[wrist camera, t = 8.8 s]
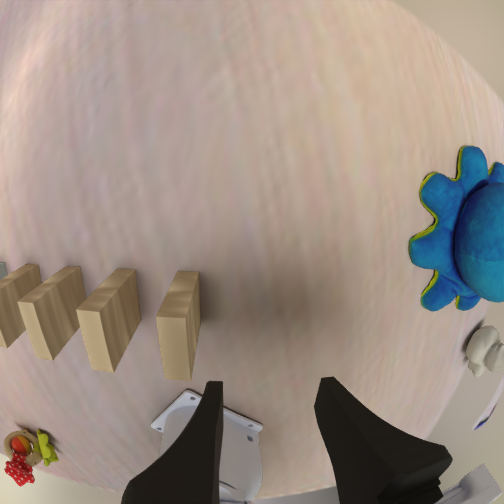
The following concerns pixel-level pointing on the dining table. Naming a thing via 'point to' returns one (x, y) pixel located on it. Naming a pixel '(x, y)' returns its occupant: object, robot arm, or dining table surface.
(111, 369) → the domino
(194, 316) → the domino
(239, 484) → the robot arm
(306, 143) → the dining table surface
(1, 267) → the domino
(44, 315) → the domino
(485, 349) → the grey swirl figurine
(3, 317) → the domino
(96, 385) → the dining table surface
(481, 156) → the plush toy
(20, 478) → the bird rattle
